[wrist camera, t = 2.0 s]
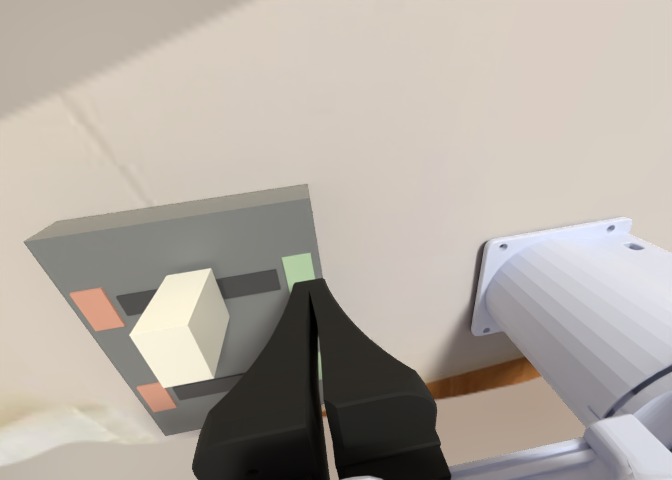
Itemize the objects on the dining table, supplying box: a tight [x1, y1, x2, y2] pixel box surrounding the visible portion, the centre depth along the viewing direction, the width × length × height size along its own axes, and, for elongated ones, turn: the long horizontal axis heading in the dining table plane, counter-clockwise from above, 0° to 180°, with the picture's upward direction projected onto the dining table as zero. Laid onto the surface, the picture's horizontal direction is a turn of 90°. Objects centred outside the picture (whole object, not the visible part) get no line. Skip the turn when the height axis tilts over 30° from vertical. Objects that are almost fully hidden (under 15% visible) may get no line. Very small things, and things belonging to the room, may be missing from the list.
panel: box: [24, 184, 324, 436], centre depth 17 cm, size 12×15×2 cm
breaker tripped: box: [129, 268, 230, 388], centre depth 13 cm, size 2×3×4 cm, turn 7°
